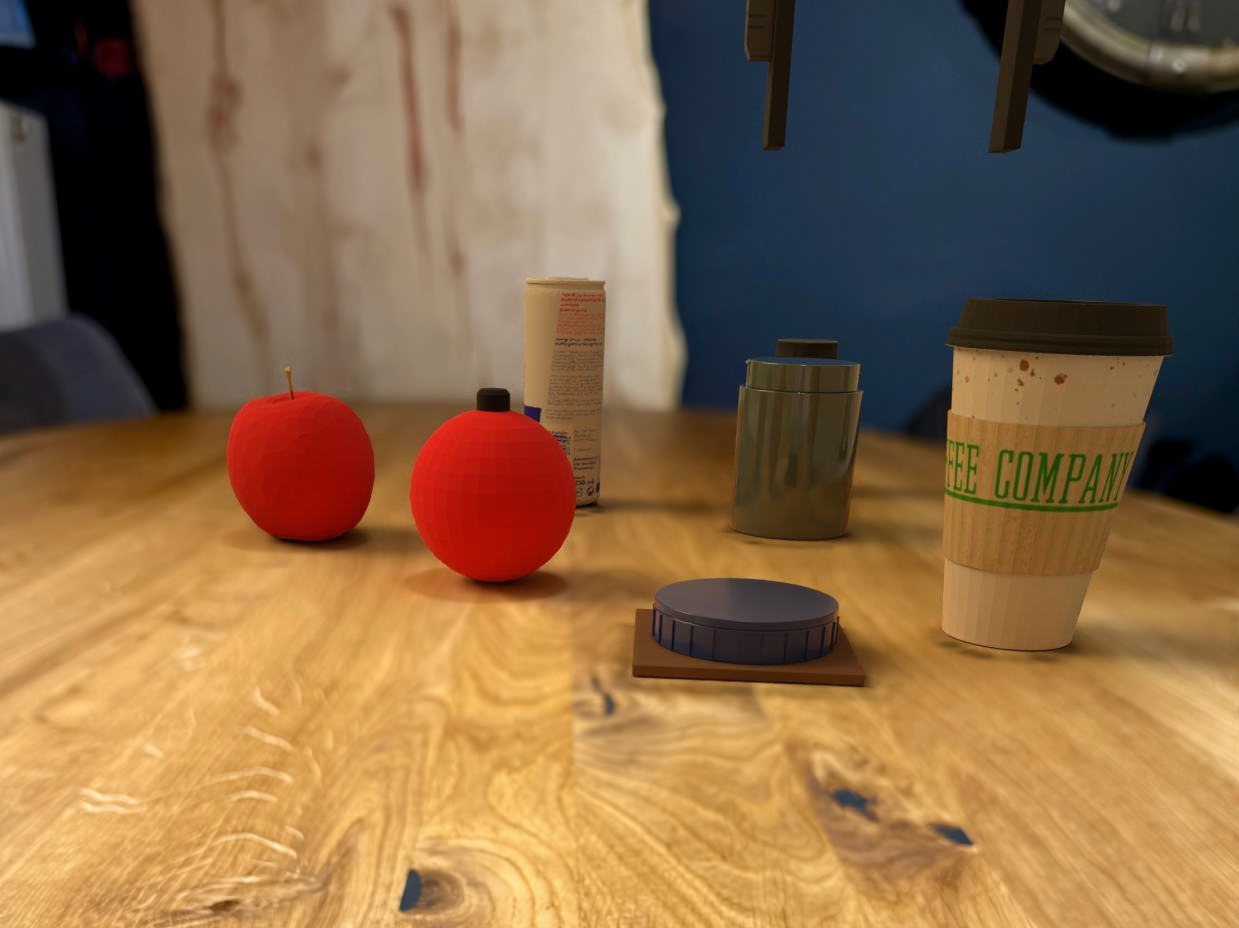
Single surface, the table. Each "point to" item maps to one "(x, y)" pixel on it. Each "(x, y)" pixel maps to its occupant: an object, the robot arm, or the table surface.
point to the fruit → (301, 464)
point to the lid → (745, 621)
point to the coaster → (667, 663)
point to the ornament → (493, 492)
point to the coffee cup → (1039, 458)
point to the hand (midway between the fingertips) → (888, 149)
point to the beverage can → (567, 370)
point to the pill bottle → (807, 348)
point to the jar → (796, 448)
